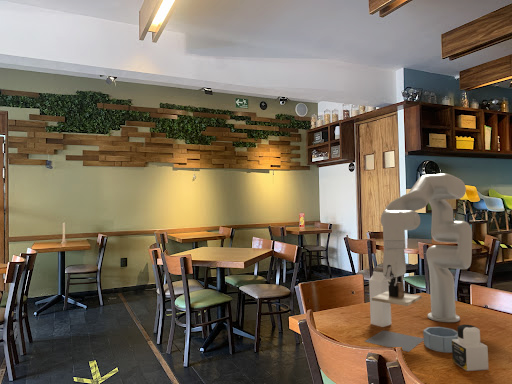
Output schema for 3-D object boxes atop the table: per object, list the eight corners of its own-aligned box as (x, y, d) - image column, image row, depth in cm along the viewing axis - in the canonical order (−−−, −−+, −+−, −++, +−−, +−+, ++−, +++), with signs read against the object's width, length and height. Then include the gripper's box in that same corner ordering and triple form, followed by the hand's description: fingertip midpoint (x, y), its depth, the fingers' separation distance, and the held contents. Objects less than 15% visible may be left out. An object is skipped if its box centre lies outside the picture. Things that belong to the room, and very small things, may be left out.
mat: (383, 331, 150) (383, 330, 150) (425, 340, 140) (425, 338, 140) (364, 343, 139) (364, 341, 139) (408, 353, 128) (408, 351, 128)
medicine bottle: (452, 361, 120) (450, 323, 121) (473, 360, 121) (471, 322, 122) (466, 371, 113) (464, 330, 114) (489, 370, 114) (487, 329, 114)
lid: (387, 293, 148) (386, 278, 149) (421, 298, 140) (420, 282, 140) (371, 300, 139) (371, 283, 139) (407, 306, 130) (406, 288, 130)
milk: (383, 328, 154) (380, 274, 155) (370, 325, 159) (368, 272, 160) (391, 325, 158) (389, 272, 158) (379, 322, 163) (377, 270, 163)
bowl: (430, 340, 140) (430, 324, 140) (464, 347, 132) (463, 330, 133) (420, 348, 132) (419, 332, 132) (454, 356, 124) (454, 339, 124)
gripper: (393, 242, 149) (395, 289, 148) (374, 246, 136) (376, 298, 136) (413, 243, 144) (415, 292, 143) (394, 247, 131) (397, 301, 131)
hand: (396, 294), depth 139 cm, fingers closed on lid, 4 cm apart
